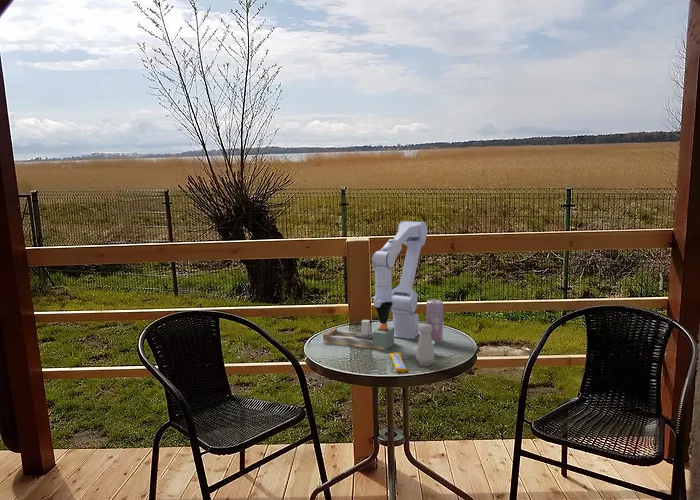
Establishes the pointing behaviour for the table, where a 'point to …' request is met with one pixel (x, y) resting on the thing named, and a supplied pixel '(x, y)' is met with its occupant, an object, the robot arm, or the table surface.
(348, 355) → the table surface
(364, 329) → the carriage
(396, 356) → the candy bar
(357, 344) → the rail track
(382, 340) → the end cabinet
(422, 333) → the salt shaker
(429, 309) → the beverage can
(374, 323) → the table surface
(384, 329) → the button
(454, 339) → the table surface
